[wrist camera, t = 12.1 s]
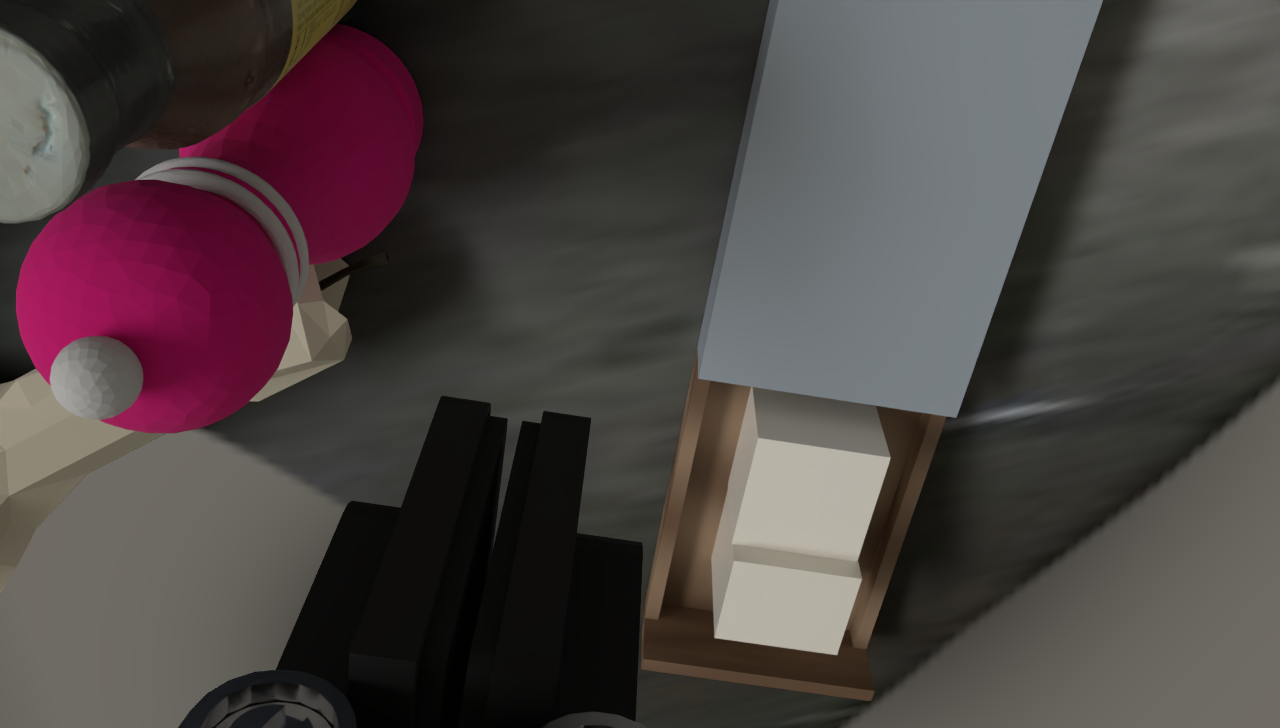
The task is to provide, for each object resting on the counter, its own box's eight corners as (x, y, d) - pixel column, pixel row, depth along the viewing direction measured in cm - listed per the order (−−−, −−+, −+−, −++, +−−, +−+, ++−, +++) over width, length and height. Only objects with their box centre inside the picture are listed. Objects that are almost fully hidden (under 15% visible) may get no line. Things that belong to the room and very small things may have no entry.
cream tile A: (751, 383, 45) (757, 437, 41) (874, 401, 45) (890, 457, 42) (727, 483, 47) (731, 543, 44) (844, 501, 48) (856, 562, 44)
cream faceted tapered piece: (-191, 383, 46) (319, 103, 41) (-19, 498, 51) (448, 264, 46) (-293, 555, 39) (298, 248, 34) (-84, 665, 45) (452, 414, 40)
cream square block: (734, 560, 43) (714, 638, 45) (862, 579, 43) (836, 655, 45) (728, 484, 47) (711, 557, 49) (845, 501, 48) (823, 573, 50)
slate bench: (814, -213, 35) (823, -210, 33) (1126, -157, 35) (1155, -150, 33) (697, 347, 45) (698, 378, 42) (943, 384, 45) (956, 417, 43)
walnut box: (697, 347, 45) (698, 399, 41) (943, 384, 45) (965, 439, 42) (643, 605, 51) (640, 669, 48) (857, 635, 52) (871, 701, 48)
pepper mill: (458, 46, 39) (282, 300, 22) (414, 229, 42) (230, 576, 25) (251, -23, 38) (-107, 186, 21) (223, 170, 42) (-105, 488, 24)
